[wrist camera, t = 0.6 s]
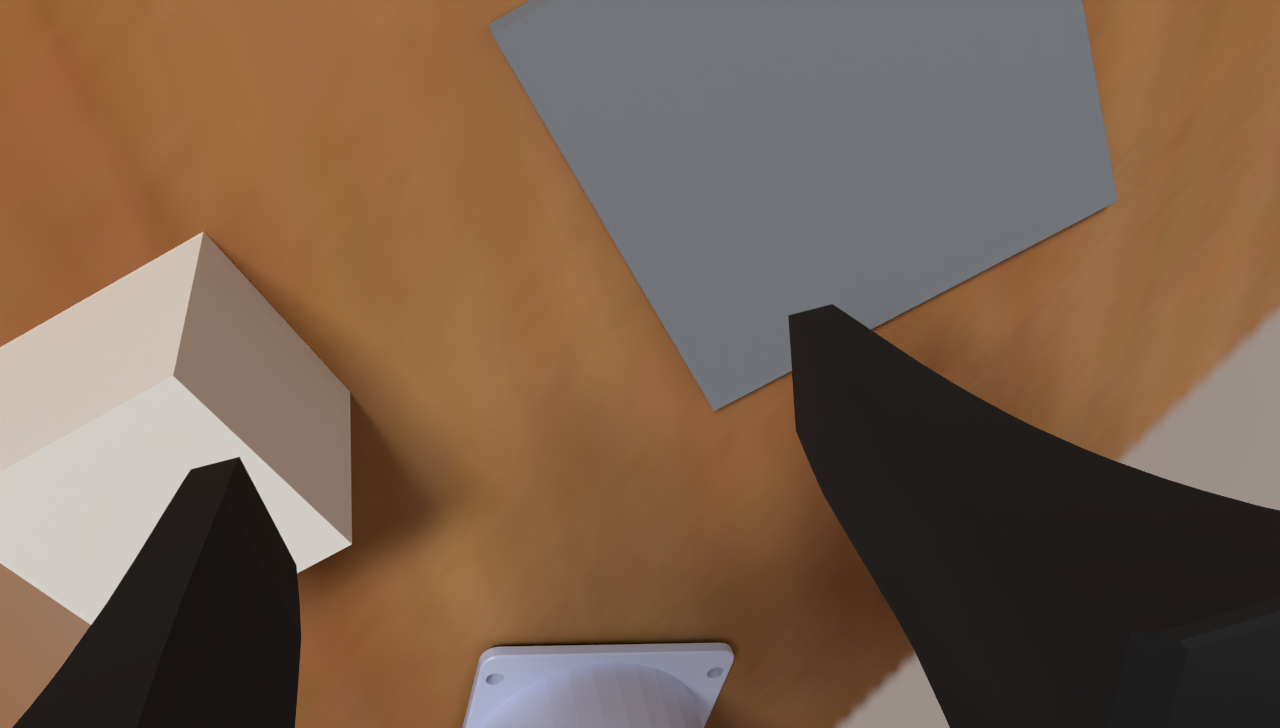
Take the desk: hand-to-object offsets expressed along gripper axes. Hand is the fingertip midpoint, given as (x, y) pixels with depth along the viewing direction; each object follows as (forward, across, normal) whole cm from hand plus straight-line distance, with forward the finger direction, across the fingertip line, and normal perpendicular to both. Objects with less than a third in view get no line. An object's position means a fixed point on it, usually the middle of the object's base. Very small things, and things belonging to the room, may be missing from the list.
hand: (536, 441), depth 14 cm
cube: (+10, +7, +4) cm, 13 cm away
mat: (+10, -8, +1) cm, 12 cm away
